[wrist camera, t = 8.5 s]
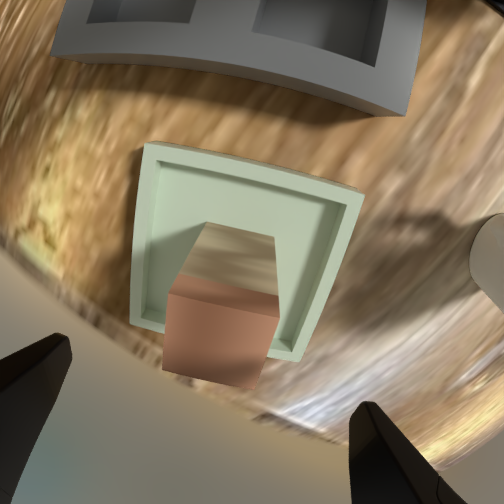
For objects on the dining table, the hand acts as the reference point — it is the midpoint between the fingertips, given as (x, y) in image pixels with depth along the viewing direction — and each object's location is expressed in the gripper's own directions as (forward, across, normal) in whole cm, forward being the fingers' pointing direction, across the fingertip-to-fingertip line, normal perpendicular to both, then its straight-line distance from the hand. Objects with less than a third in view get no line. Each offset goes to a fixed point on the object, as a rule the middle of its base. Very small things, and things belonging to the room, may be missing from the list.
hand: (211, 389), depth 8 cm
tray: (+12, 0, +1) cm, 12 cm away
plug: (+11, 0, +1) cm, 11 cm away
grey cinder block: (+12, +3, -14) cm, 18 cm away
